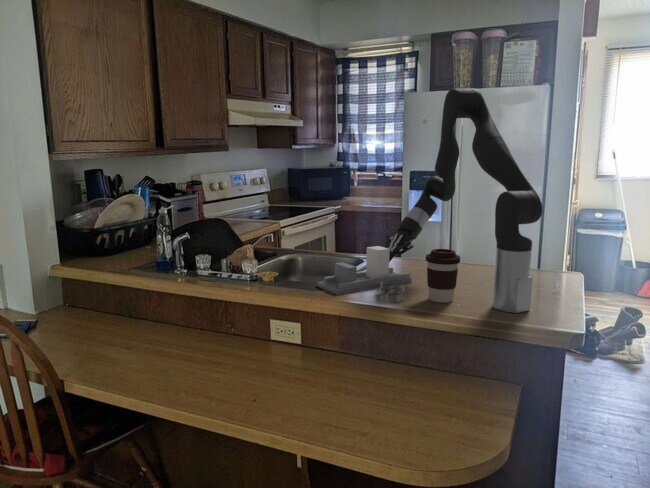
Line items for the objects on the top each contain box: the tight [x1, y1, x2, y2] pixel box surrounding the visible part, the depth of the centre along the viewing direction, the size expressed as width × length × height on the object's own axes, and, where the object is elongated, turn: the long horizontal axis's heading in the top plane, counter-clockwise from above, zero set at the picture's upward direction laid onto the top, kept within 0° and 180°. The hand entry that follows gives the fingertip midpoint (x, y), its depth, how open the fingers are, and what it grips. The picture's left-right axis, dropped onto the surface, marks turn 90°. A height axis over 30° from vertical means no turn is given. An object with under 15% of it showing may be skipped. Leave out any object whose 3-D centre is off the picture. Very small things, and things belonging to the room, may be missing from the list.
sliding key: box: [365, 245, 390, 278], centre depth 171 cm, size 6×5×10 cm
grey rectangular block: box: [334, 262, 358, 283], centre depth 165 cm, size 8×4×6 cm, turn 32°
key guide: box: [316, 266, 413, 296], centre depth 169 cm, size 12×30×3 cm, turn 122°
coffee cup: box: [425, 248, 461, 304], centre depth 151 cm, size 10×10×15 cm
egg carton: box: [379, 281, 405, 303], centre depth 155 cm, size 11×8×4 cm
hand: (384, 261), depth 173 cm, fingers closed
